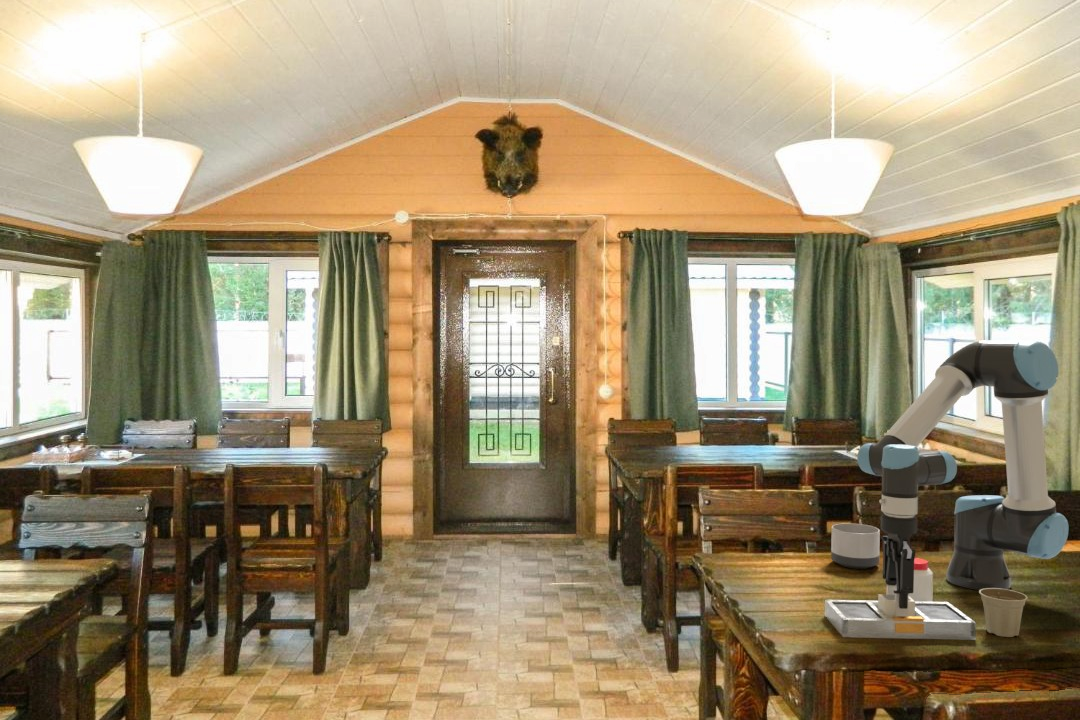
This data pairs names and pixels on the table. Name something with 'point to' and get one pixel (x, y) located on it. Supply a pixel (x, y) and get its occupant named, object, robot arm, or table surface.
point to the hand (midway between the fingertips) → (896, 617)
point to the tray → (899, 621)
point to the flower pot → (1003, 610)
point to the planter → (855, 545)
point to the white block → (893, 605)
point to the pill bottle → (922, 581)
